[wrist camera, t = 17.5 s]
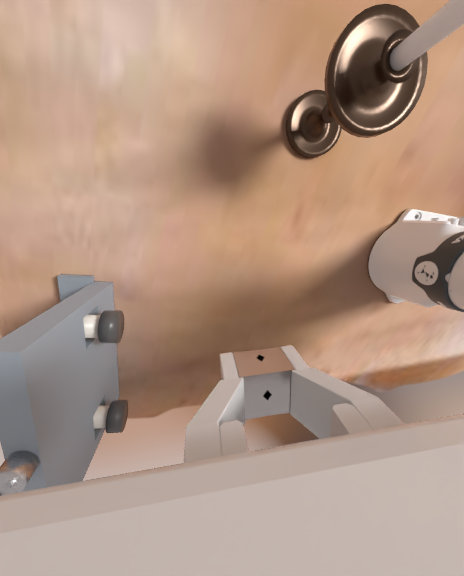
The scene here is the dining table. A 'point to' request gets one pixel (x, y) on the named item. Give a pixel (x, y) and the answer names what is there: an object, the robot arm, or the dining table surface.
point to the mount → (58, 383)
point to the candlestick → (370, 77)
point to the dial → (17, 471)
